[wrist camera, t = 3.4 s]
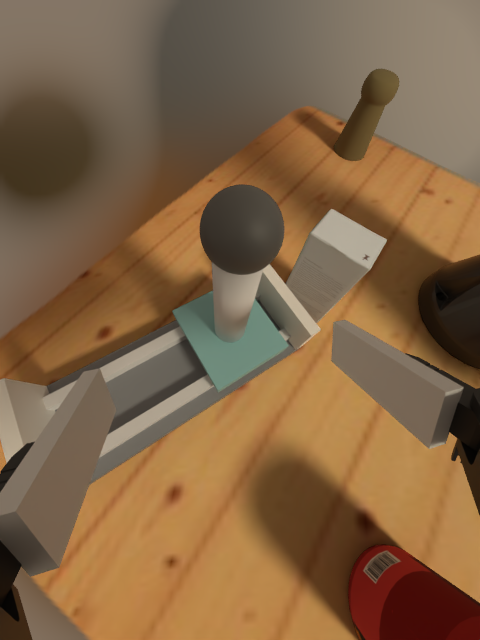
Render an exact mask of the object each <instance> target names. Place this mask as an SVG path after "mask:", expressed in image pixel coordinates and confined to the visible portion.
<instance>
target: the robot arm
mask: <svg viewBox="0 0 480 640" xmlns="http://www.w3.org/2000/svg"><path fill="white" fill-rule="evenodd" d="M419 308H420V312H421V315H422V318H423V321H424V323H425V325H426V326H427V328H428V330H429V331H430V333H431V334H432V336H433V337H434V338H435V339H436V340H437V342H438V343H439V344H440V345H441V346H442V347H443V348H444V349H445V350H447V351H448V352H449V353H450V354H452V355H453V356H454V357H456V358H457V359H459V360H461V361H462V362H464V363H466V364H468V365H471V366H473V367H476V368H479V369H480V255H477V256H474V257H471V258H468V259H464V260H461V261H458V262H455V263H452V264H449V265H447V266H445V267H443V268H441V269H440V270H438V271H437V272H435V273H434V274H432V275H431V276H429V277H428V278H427V279H426V280H425V281H424V283H423V284H422V286H421V289H420V292H419ZM332 362H333V363H334V364H335V365H336V366H337V367H339V368H340V369H341V370H342V371H343V372H344V373H345V374H346V375H348V376H349V377H350V378H351V379H352V380H353V381H354V382H355V383H356V384H358V385H359V386H360V387H361V388H362V389H363V390H364V391H365V392H366V393H368V394H369V395H370V396H371V397H372V398H373V399H374V400H375V401H376V402H378V403H379V404H380V405H381V406H382V407H383V408H384V409H385V410H386V411H388V412H389V413H390V414H391V415H392V416H393V417H394V418H395V419H396V420H398V421H399V422H400V423H401V424H402V425H403V426H404V427H405V428H406V429H408V430H409V431H410V432H411V433H412V434H413V435H414V436H415V437H416V438H418V439H419V440H420V441H421V442H422V443H423V444H424V445H425V446H426V447H428V448H429V449H431V448H434V447H437V446H440V445H443V444H446V440H447V437H448V434H449V432H450V433H452V434H453V435H454V436H455V437H457V441H456V444H455V447H454V450H453V453H452V456H451V460H452V461H455V460H456V458H457V456H458V455H459V456H460V459H461V463H462V465H463V468H464V471H465V474H466V477H467V480H468V482H469V485H470V488H471V491H472V494H473V497H474V500H475V503H476V506H477V509H478V512H479V515H480V388H479V389H475V388H473V387H471V386H470V385H468V384H466V383H464V382H462V381H460V380H459V379H457V378H455V377H453V376H451V375H450V374H448V373H446V372H444V371H442V370H439V368H437V367H435V366H433V365H430V363H428V362H426V361H424V360H422V359H421V358H419V357H416V356H413V355H410V354H407V353H405V354H404V353H403V352H401V351H399V350H397V349H396V348H394V347H392V346H390V345H389V344H387V343H385V342H383V341H382V340H380V339H378V338H376V337H375V336H373V335H371V334H369V333H367V332H366V331H364V330H362V329H360V328H359V327H357V326H355V325H353V324H352V323H350V322H348V321H346V320H341V321H336V322H334V325H333V343H332ZM115 413H116V408H115V405H114V403H113V400H112V398H111V395H110V393H109V390H108V388H107V385H106V383H105V380H104V378H103V375H102V372H101V370H100V368H99V369H94V370H89V371H84V372H83V373H82V375H81V376H80V377H79V379H78V380H77V382H76V383H75V385H74V386H73V388H72V389H71V390H70V392H69V393H68V395H67V396H66V398H65V399H64V401H63V402H62V404H61V405H60V406H59V408H58V409H57V411H56V412H55V414H54V415H53V417H52V418H51V419H50V421H49V422H48V424H47V425H46V427H45V428H44V430H43V431H42V433H41V434H40V435H39V437H38V438H37V440H36V441H35V442H31V443H27V444H26V445H24V446H23V447H22V448H21V449H20V450H19V451H18V452H17V453H15V454H14V455H13V456H12V457H11V458H10V460H9V461H8V462H7V464H6V465H5V466H4V468H3V469H2V470H1V474H0V640H32V637H31V634H30V630H29V627H28V623H27V620H26V616H25V613H24V610H23V606H22V603H21V600H20V596H19V593H18V589H17V588H16V587H15V586H14V585H13V582H14V580H15V578H16V576H17V574H18V572H19V570H20V568H21V567H22V568H23V569H24V570H25V571H26V572H27V574H28V575H29V576H30V577H31V576H34V575H37V574H40V573H43V572H46V571H50V570H53V569H56V568H59V566H60V564H61V561H62V558H63V555H64V553H65V550H66V547H67V544H68V542H69V539H70V536H71V533H72V531H73V528H74V525H75V522H76V520H77V517H78V514H79V511H80V509H81V506H82V503H83V500H84V498H85V495H86V492H87V489H88V487H89V484H90V481H91V478H92V476H93V473H94V470H95V467H96V465H97V462H98V459H99V456H100V454H101V451H102V448H103V445H104V443H105V440H106V437H107V434H108V432H109V429H110V426H111V423H112V421H113V418H114V415H115Z"/></svg>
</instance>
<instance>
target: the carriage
mask: <svg viewBox="0 0 480 640" xmlns="http://www.w3.org/2000/svg"><path fill="white" fill-rule="evenodd" d="M200 238H201V243H202V246H203V248H204V251H205V253H206V254H207V256H208V257H209V259H210V260H211V261H212V278H213V291H211V292H209V293H207V294H205V295H203V296H201V297H199V298H197V299H195V300H193V301H191V302H189V303H187V304H185V305H183V306H181V307H179V308H177V309H175V310H173V311H172V312H173V314H174V316H175V319H176V320H177V322H178V324H179V326H180V327H181V329H182V331H183V333H184V334H185V336H186V338H187V339H188V341H189V343H190V345H191V346H192V348H193V350H194V352H195V353H196V355H197V357H198V359H199V360H200V362H201V364H202V366H203V367H204V369H205V371H206V373H207V374H208V376H209V378H210V379H211V381H212V383H213V385H214V386H215V388H216V390H217V392H220V391H221V390H223V389H225V388H226V387H228V386H229V385H231V384H232V383H234V382H236V381H237V380H239V379H240V378H242V377H243V376H245V375H247V374H248V373H250V372H251V371H253V370H254V369H256V368H258V367H259V366H261V365H262V364H264V363H265V362H267V361H269V360H270V359H272V358H273V357H275V356H276V355H278V354H280V353H281V352H283V351H284V350H285V349H286V348H287V347H288V346H289V345H288V344H287V342H286V341H285V340H284V338H283V337H282V335H281V334H280V333H279V331H278V330H277V328H276V327H275V326H274V324H273V323H272V321H271V320H270V319H269V317H268V316H267V314H266V313H265V312H264V310H263V309H262V308H261V306H260V305H259V303H258V302H257V301H256V299H255V296H256V292H257V289H258V286H259V282H260V279H261V276H262V273H263V269H264V268H265V267H266V266H268V265H269V264H270V263H271V262H272V261H273V260H274V258H275V257H276V256H277V254H278V252H279V250H280V248H281V246H282V242H283V238H284V221H283V217H282V214H281V211H280V209H279V207H278V205H277V204H276V202H275V201H274V200H273V199H272V197H271V196H270V195H268V194H267V193H266V192H264V191H263V190H261V189H259V188H257V187H254V186H250V185H234V186H230V187H227V188H225V189H223V190H221V191H220V192H218V193H217V194H216V195H215V196H214V197H213V198H212V199H211V200H210V201H209V202H208V204H207V206H206V207H205V209H204V211H203V214H202V217H201V222H200Z"/></svg>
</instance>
